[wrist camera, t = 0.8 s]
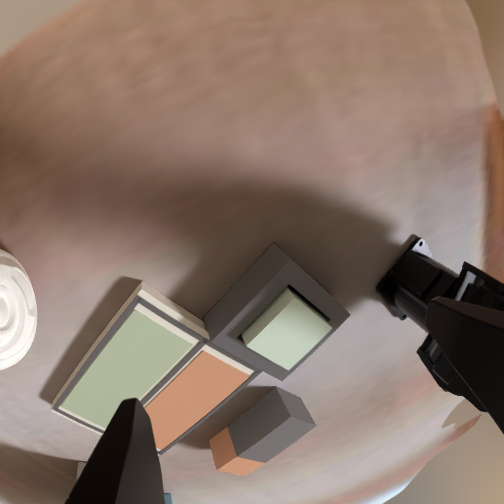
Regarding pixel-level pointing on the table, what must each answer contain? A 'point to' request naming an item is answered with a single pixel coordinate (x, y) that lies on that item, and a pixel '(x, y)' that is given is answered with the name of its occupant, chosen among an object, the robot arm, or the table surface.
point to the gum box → (168, 499)
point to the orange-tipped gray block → (261, 432)
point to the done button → (286, 329)
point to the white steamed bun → (15, 311)
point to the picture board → (153, 370)
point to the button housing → (258, 298)
